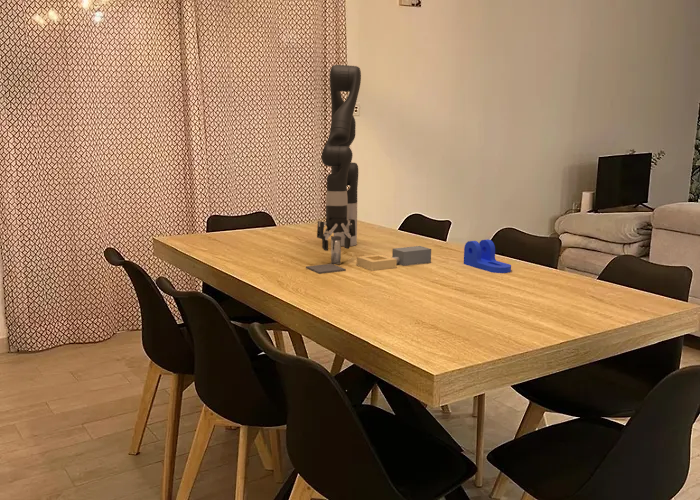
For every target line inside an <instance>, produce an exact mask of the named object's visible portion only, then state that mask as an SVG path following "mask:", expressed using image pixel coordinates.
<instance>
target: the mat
mask: <svg viewBox="0 0 700 500" xmlns="http://www.w3.org/2000/svg"><path fill="white" fill-rule="evenodd" d="M305 269H307V270H310V271H312V272H314V273H316V274H319V275H321V274H329V273H330V274H331V273H337V272H338V273H339V272H346V270H347V269H346V268H344V267H342V266H339V265H335V264H331V263H326V264H316V265H307V266H305Z"/></svg>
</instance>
